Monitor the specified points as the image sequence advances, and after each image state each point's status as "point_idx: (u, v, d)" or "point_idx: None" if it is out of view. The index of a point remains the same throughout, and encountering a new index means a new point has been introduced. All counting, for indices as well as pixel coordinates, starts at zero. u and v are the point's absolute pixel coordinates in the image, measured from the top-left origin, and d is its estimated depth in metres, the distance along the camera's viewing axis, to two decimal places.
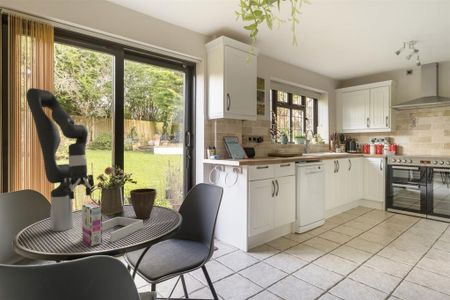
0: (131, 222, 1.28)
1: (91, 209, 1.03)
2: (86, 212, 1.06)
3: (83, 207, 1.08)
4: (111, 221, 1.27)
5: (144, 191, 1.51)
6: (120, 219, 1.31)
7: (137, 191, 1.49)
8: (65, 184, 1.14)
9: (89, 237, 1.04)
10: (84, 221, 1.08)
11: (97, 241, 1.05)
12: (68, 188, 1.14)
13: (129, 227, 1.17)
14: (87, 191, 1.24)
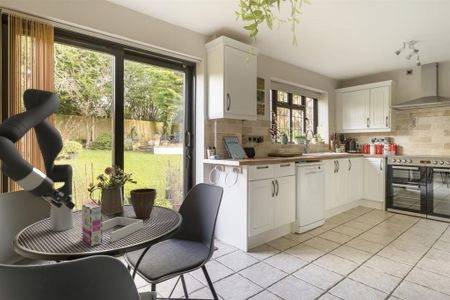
0: (131, 222, 1.28)
1: (91, 209, 1.03)
2: (86, 212, 1.06)
3: (83, 207, 1.08)
4: (111, 221, 1.27)
5: (144, 191, 1.51)
6: (120, 219, 1.31)
7: (137, 191, 1.49)
8: None
9: (89, 237, 1.04)
10: (84, 221, 1.08)
11: (97, 241, 1.05)
12: (44, 200, 0.95)
13: (129, 227, 1.17)
14: None
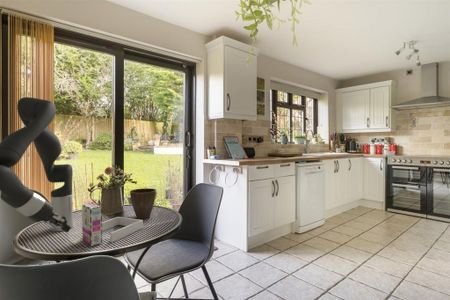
0: (131, 222, 1.28)
1: (91, 209, 1.03)
2: (86, 212, 1.06)
3: (83, 207, 1.08)
4: (111, 221, 1.27)
5: (144, 191, 1.51)
6: (120, 219, 1.31)
7: (137, 191, 1.49)
8: None
9: (89, 237, 1.04)
10: (84, 221, 1.08)
11: (97, 241, 1.05)
12: None
13: (129, 227, 1.17)
14: None
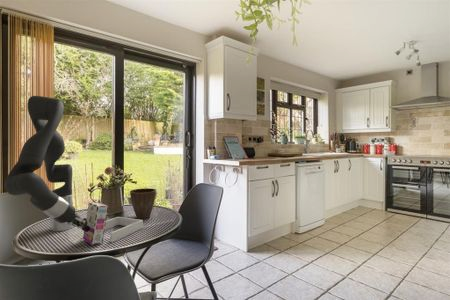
0: (131, 222, 1.28)
1: (98, 207, 1.05)
2: (92, 210, 1.07)
3: (89, 205, 1.10)
4: (111, 221, 1.27)
5: (144, 191, 1.51)
6: (120, 219, 1.31)
7: (137, 191, 1.49)
8: None
9: (91, 235, 1.04)
10: (88, 219, 1.09)
11: (98, 240, 1.05)
12: (73, 225, 1.03)
13: (129, 227, 1.17)
14: None
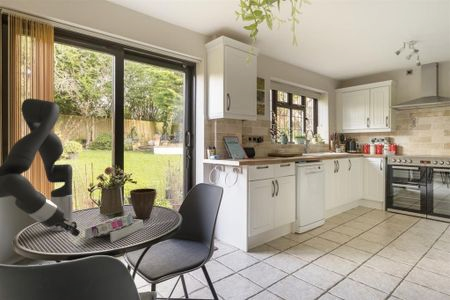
0: None
1: (131, 215, 1.17)
2: (124, 216, 1.19)
3: None
4: None
5: (144, 191, 1.51)
6: None
7: (137, 191, 1.49)
8: None
9: (103, 223, 1.10)
10: None
11: (100, 231, 1.07)
12: (61, 229, 0.98)
13: (129, 227, 1.17)
14: None
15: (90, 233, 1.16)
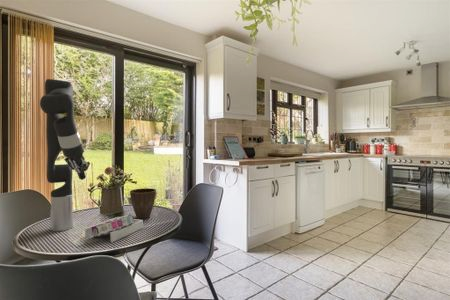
0: None
1: (131, 215, 1.17)
2: (124, 216, 1.19)
3: None
4: None
5: (144, 191, 1.51)
6: None
7: (137, 191, 1.49)
8: None
9: (103, 223, 1.10)
10: None
11: (100, 231, 1.07)
12: (72, 168, 1.04)
13: (129, 227, 1.17)
14: None
15: (90, 233, 1.16)
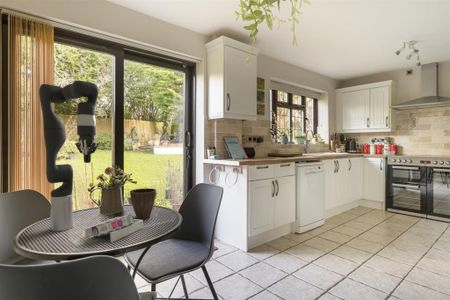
0: None
1: (131, 215, 1.17)
2: (124, 216, 1.19)
3: None
4: None
5: (144, 191, 1.51)
6: None
7: (137, 191, 1.49)
8: None
9: (103, 223, 1.10)
10: None
11: (100, 231, 1.07)
12: (80, 151, 1.12)
13: (129, 227, 1.17)
14: None
15: (90, 233, 1.16)
